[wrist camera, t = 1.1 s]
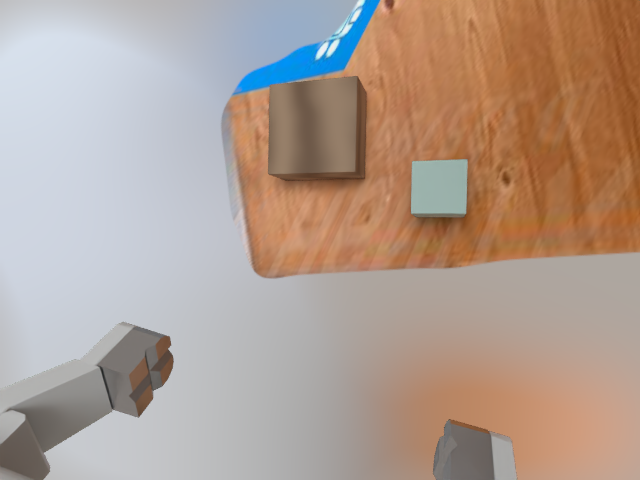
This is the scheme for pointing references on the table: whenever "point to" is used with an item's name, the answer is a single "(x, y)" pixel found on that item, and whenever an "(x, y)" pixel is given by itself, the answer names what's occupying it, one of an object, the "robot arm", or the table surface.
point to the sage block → (439, 188)
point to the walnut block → (317, 129)
